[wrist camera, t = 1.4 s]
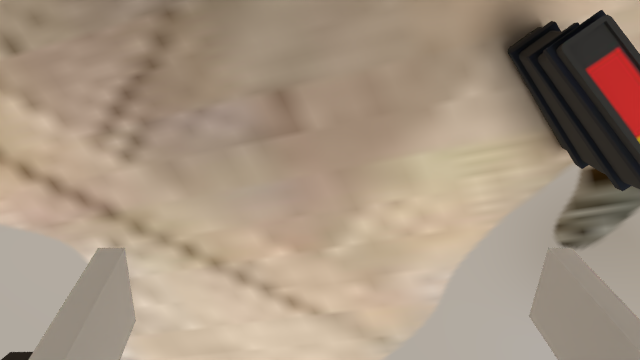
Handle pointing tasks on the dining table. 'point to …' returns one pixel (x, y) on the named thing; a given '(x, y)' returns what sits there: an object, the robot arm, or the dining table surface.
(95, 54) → the dining table surface
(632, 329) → the robot arm
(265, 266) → the dining table surface
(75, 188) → the dining table surface
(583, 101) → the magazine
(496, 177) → the dining table surface
